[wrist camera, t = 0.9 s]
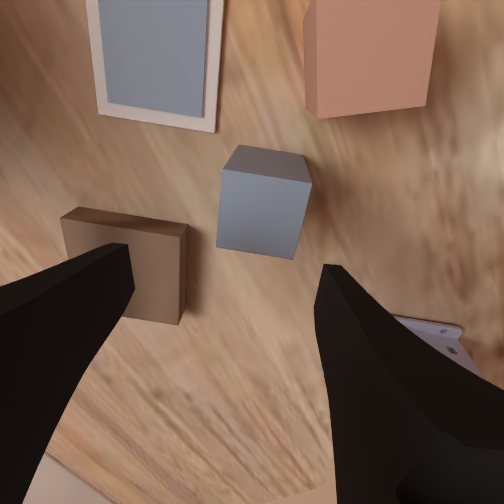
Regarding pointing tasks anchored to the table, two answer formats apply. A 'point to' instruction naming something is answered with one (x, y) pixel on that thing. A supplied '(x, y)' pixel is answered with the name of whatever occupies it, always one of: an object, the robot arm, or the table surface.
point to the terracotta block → (367, 55)
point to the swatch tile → (157, 60)
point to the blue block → (263, 202)
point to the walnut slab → (138, 257)
